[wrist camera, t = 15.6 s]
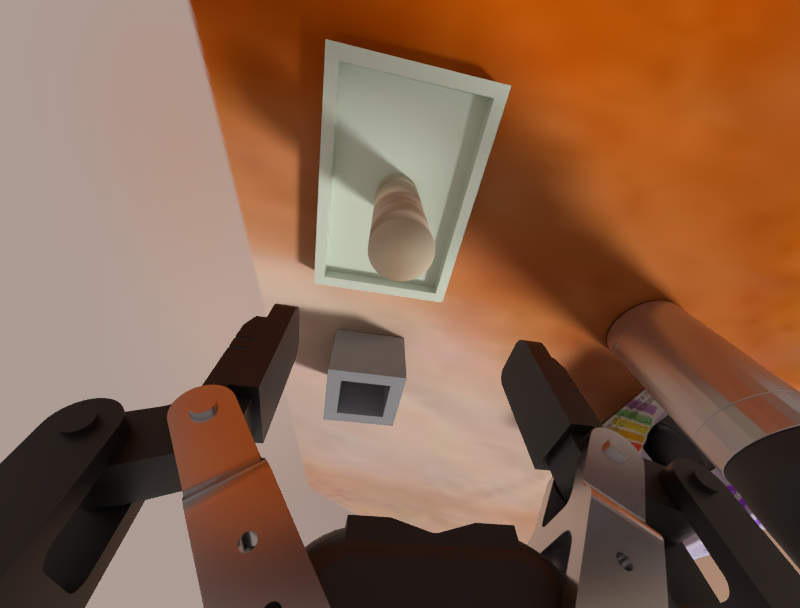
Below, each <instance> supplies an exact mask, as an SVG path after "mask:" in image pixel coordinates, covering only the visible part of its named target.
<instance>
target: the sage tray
mask: <svg viewBox="0 0 800 608" xmlns="http://www.w3.org/2000/svg"><path fill="white" fill-rule="evenodd" d="M510 89H511V86H510V85H506V84H502V83H498V82H494V81H490V80H487V79H483V78H479V77H475V76H471V75H467V74H463V73H459V72H455V71H451V70H447V69H443V68H439V67H435V66H431V65H427V64H423V63H419V62H415V61H411V60H407V59H403V58H399V57H395V56H391V55H387V54H383V53H379V52H375V51H371V50H367V49H364V48H360V47H356V46H352V45H348V44H344V43H340V42H336V41H332V40H328V39H325V60H324V81H323V103H322V124H321V145H320V166H319V187H318V208H317V230H316V251H315V272H314V283H315V284H321V285H328V286H335V287H342V288H348V289H355V290H362V291H368V292H375V293H382V294H388V295H395V296H402V297H408V298H415V299H422V300H428V301H435V302H442V301H443V298H444V295H445V292H446V289H447V286H448V283H449V280H450V276H451V273H452V270H453V267H454V264H455V261H456V258H457V254H458V251H459V248H460V245H461V242H462V239H463V236H464V233H465V229H466V226H467V223H468V220H469V217H470V214H471V211H472V208H473V204H474V201H475V198H476V195H477V192H478V189H479V186H480V183H481V179H482V176H483V173H484V170H485V167H486V164H487V161H488V157H489V154H490V151H491V148H492V145H493V142H494V139H495V136H496V132H497V129H498V126H499V123H500V120H501V117H502V114H503V111H504V107H505V104H506V101H507V98H508V95H509V92H510ZM391 174H402V175H405V176H407V177H409V178H410V179H411V180H412V181H413V182H414V184H415V186H416V188H417V191H418V194H419V197H420V200H421V203H422V206H423V209H424V212H425V215H426V218H427V221H428V224H429V228H430V231H431V234H432V237H433V240H434V244H435V256H434V259H433V262H432V264H431V266H430V267H429V268H428V270H427V271H426V272H425V273H423V274H422V275H421V276H419V277H417V278H415V279H413V280H409V281H393V280H389V279H387V278H385V277H383V276H381V275H380V274H379V273H377V272H376V270H375V269H374V268H373V267H372V265H371V263H370V260H369V257H368V243H369V236H370V229H371V222H372V216H373V209H374V202H375V195H376V189H377V187H378V185H379V183H380V182H381V181H382V179H384V178H385V177H387V176H389V175H391Z"/></svg>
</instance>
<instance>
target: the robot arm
mask: <svg viewBox="0 0 800 608" xmlns="http://www.w3.org/2000/svg"><path fill="white" fill-rule="evenodd" d="M298 343H299V307H295V306H288V305H281V304H275V305H274V306H273V308H272V310H271V311H270V313H269V315H268V316H267V317H259V316H256V317H254V318H253V319H251V320H250V321H248V322H247V323H245V324H244V325H243V326H242V328H241V329H240V331H239V332H238V333H237V335H236V338H234V339H233V341H232V342H231V344H230V347H229V348H228V349H227V350H226V351H225V353H224V354H223V356H222V357H221V359H220V360H219V362H218V363H217V365H216V366H215V368H214V369H213V370H212V372H211V373H210V375H209V376H208V378H207V379H206V381H205V382H204V384H203V385H202V386H200V387H196V388H194V389H191V390H189V391H187V392H185V393H184V394H182V395H181V396H179V397H178V398H177V399H176V400H175V401H174V402H173V403H172V404H171V405H167V406H162V407H155V408H149V409H142V410H135V411H129V412H125V411H124V409H123V407H122V405H121V404H120V403H119V402H117V401H115V400H112V399H106V398H96V399H89V400H84V401H81V402H77V403H74V404H72V405H69V406H67V407H65V408H63V409H61V410H59V411H57V412H55V413H54V414H52V415H51V416H50V417H48V418H47V419H46V420H44V421H43V422H42V423H41V424H40V425H39V426H38V427H37V428H36V429H35V430H34V431H33V432H32V433H31V434H30V435H29V436H28V437H27V438H26V439H25V440H24V441H23V442H22V443H21V444H20V445H19V446H18V447H17V448H16V449H15V450H14V451H13V452H12V453H11V454H10V455H9V456H8V457H7V458H6V459H5V460H4V461H3V462H1V463H0V608H85V606H86V605H87V603H88V601H89V599H90V597H91V596H92V594H93V592H94V590H95V588H96V587H97V585H98V583H99V581H100V580H101V578H102V576H103V574H104V572H105V571H106V569H107V567H108V565H109V563H110V562H111V560H112V558H113V556H114V555H115V553H116V551H117V549H118V548H119V546H120V544H121V542H122V540H123V539H124V537H125V535H126V533H127V532H128V530H129V528H130V526H131V524H132V523H133V521H134V519H135V517H136V515H137V513H138V512H139V510H140V508H141V506H142V505H143V503H144V501H145V500H147V499H151V498H155V497H159V496H163V495H167V494H171V493H175V492H179V491H182V492H183V499H182V501H183V509H184V514H185V519H186V524H187V529H188V533H189V538H190V543H191V548H192V553H193V557H194V562H195V567H196V572H197V577H198V582H199V586H200V591H201V596H202V601H203V606H204V608H800V575H799V573H798V572H797V571H796V570H795V569H794V567H793V566H792V565H791V564H790V563H789V562H788V560H787V559H786V558H785V557H784V555H783V554H782V553H781V552H780V551H779V549H778V548H777V547H776V546H775V545H774V543H773V542H772V541H771V540H770V539H769V537H768V536H767V535H766V534H765V532H764V531H763V530H762V529H761V528H760V526H759V525H758V524H757V523H756V522H755V520H754V519H753V518H752V517H751V516H750V514H749V513H748V512H747V511H746V510H745V508H744V507H743V506H742V505H741V504H740V502H739V501H738V500H737V499H736V498H735V496H734V495H733V494H732V493H731V491H730V490H729V489H728V488H727V487H726V486H725V484H724V483H723V482H722V481H721V480H720V479H719V478H718V477H717V476H715V475H714V474H713V473H712V472H710V471H709V470H708V469H706V468H705V467H703V466H702V465H700V464H698V463H696V462H694V461H692V460H689V459H685V458H677V459H675V460H674V461H673V462H671V463H670V464H669V465H668V466H667V467H666V466H663V465H661V464H658V463H656V462H653V461H650V460H648V459H645V458H643V457H642V456H641V455H640V453H639V452H638V450H637V449H636V448H635V447H634V446H633V445H632V444H631V443H630V442H629V441H628V440H627V439H626V438H624V437H623V436H622V435H620V434H618V433H617V432H615V431H612V430H610V429H607V428H603V426H602V424H601V423H600V421H599V420H598V418H597V417H596V415H595V414H594V412H593V411H592V409H591V408H590V406H589V405H588V403H587V402H586V400H585V399H584V397H583V395H582V394H581V393H580V392H579V389H578V388H577V386H576V385H575V383H573V382H572V381H573V380H572V379H571V377H570V376H569V374H568V373H567V371H566V369H565V368H564V367H563V366H561V365H560V364H559V363H558V362H557V361H556V360H555V359H554V358H551V356H550V354H549V353H548V351H547V350H546V348H545V346H544V345H543V344H542V343H540V342H533V341H526V340H519V341H518V342H517V343H516V345H515V347H514V349H513V351H512V352H511V354H510V356H509V358H508V360H507V362H506V364H505V366H504V368H503V370H502V375H501V381H502V386H503V388H504V391H505V394H506V396H507V399H508V401H509V404H510V406H511V409H512V411H513V414H514V417H515V419H516V422H517V424H518V427H519V429H520V432H521V434H522V437H523V439H524V442H525V445H526V447H527V450H528V452H529V455H530V457H531V460H532V462H533V465H534V468H535V469H540V470H550V471H551V473H552V478H551V479H550V480H549V481H548V484H547V488H546V491H545V495H544V498H543V502H542V505H541V509H540V512H539V516H538V520H537V523H536V527H535V530H534V533H533V535H532V537H531V539H530V541H529V542H528V544H527V545H526V544H524V543H522V542H520V541H518V537H517V534H516V530H515V527H514V525H498V524H483V523H474V524H470V525H466V526H463V527H459V528H455V529H452V530H448V531H444V532H441V533H431V532H428V531H426V530H423V529H420V528H418V527H415V526H412V525H410V524H407V523H404V522H402V521H399V520H396V519H394V518H391V517H375V516H360V515H348V517H347V521H346V526H345V528H342V529H339V530H335V531H332V532H330V533H328V534H325V535H323V536H321V537H319V538H318V539H316V540H314V541H313V542H311V543H310V544H309V545H307V546H306V547H304V545H303V542H302V540H301V538H300V535H299V533H298V531H297V528H296V526H295V523H294V521H293V519H292V516H291V514H290V512H289V510H288V507H287V505H286V502H285V500H284V498H283V495H282V493H281V491H280V488H279V486H278V484H277V482H276V479H275V477H274V474H273V472H272V470H271V468H270V466H269V464H268V462H267V460H266V459H265V458H263V459H262V458H261V456H260V454H259V452H258V449H257V447H256V444H255V443H263V442H264V440H265V437H266V434H267V432H268V429H269V426H270V424H271V421H272V419H273V416H274V413H275V411H276V408H277V405H278V403H279V400H280V398H281V395H282V392H283V390H284V387H285V385H286V382H287V379H288V377H289V374H290V371H291V369H292V366H293V364H294V361H295V358H296V355H297V350H298ZM607 345H608V347H609V349H610V350H611V351H612V352H613V353H614V354H615V356H616V357H617V358H618V359H619V360H620V361H621V362H622V363H623V364H624V366H625V367H626V368H627V369H628V370H629V371H630V373H631V374H632V375H633V376H634V377H635V378H636V379H637V380H638V381H639V383H640V384H641V385H642V386H643V387H644V388H645V389H646V390H647V391H648V393H649V394H650V395H651V396H652V397H653V398H654V399H655V400H656V402H657V403H658V404H659V405H660V406H661V407H662V408H663V409H664V410H665V412H666V413H667V414H668V415H669V416H670V417H671V418H672V419H673V420H674V422H675V423H676V424H677V425H678V426H679V427H680V428H681V429H682V430H683V432H684V433H685V434H686V435H687V436H688V437H689V438H690V439H691V441H692V442H693V443H694V444H695V445H696V446H697V447H698V448H699V449H700V450H701V451H702V453H703V454H704V455H705V456H706V457H707V458H708V459H709V460H710V461H711V463H712V464H713V465H714V466H715V467H716V468H717V469H718V470H719V472H720V473H721V474H722V475H723V476H724V477H725V478H726V479H727V480H728V482H729V483H730V484H731V485H732V486H733V487H734V488H735V489H736V491H737V492H738V493H739V494H740V495H741V497H742V498H743V500H744V501H745V503H746V504H747V506H748V507H749V509H750V510H751V512H752V513H753V514H754V516H755V517H756V518H757V519H758V521H759V522H760V523H761V524H762V525H763V527H764V528H765V529H766V530H767V531H768V532H769V534H770V535H771V536H772V537H773V538H774V539H775V540H776V542H777V543H778V544H779V545H780V546H781V547H782V549H783V550H784V551H785V552H786V553H787V555H788V556H789V557H790V558H791V559H792V561H793V562H794V563H795V564H796V565H797V566H798V568H799V569H800V392H799V391H798V390H796V389H795V388H794V387H792V386H791V385H789V384H788V383H787V382H785V381H784V380H782V379H781V378H779V377H778V376H777V375H775V374H774V373H772V372H771V371H769V370H768V369H767V368H765V367H764V366H762V365H761V364H760V363H758V362H757V361H755V360H754V359H752V358H751V357H750V356H748V355H747V354H745V353H744V352H742V351H741V350H740V349H738V348H737V347H735V346H734V345H733V344H731V343H730V342H728V341H727V340H725V339H724V338H723V337H721V336H720V335H718V334H717V333H715V332H714V331H713V330H711V329H710V328H708V327H707V326H706V325H704V324H703V323H702V322H700V321H699V320H697V319H696V318H694V317H693V316H692V315H690V314H689V313H687V312H686V311H684V310H683V309H682V308H680V307H679V306H677V305H676V304H674V303H672V302H669V301H652V302H647V303H644V304H641V305H638V306H636V307H634V308H632V309H630V310H629V311H627V312H626V313H624V314H623V315H622V316H621V317H620V318H618V319H617V320H616V322H615V323H614V324H613V325H612V327H611V328H610V330H609V332H608V335H607ZM695 533H696V534H697V536H698V537H699V539H700V540H701V542H702V543H703V545H704V546H705V548H706V549H707V551H708V552H709V554H710V555H711V557H712V558H713V560H714V561H715V563H716V564H717V566H718V567H719V569H720V570H721V571H722V573H723V575H724V576H725V578H726V580H727V582H728V585H729V591H730V594H729V598H728V599H727V600H726V601H725V602H722V603H720V602H719V600H718V598H717V597H716V595H715V594H714V592H713V591H712V589H711V587H710V586H709V584H708V582H707V581H706V579H705V578H704V576H703V574H702V573H701V571H700V569H699V568H698V566H697V565H696V563H695V561H694V560H693V558H692V557H691V555H690V553H689V552H688V550H687V549H686V547H685V545H684V544H683V542H682V541H684V540H686V539H687V538H689V537H691V536H692V535H694V534H695Z"/></svg>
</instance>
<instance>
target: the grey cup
mask: <svg viewBox="0 0 800 608" xmlns="http://www.w3.org/2000/svg"><path fill="white" fill-rule="evenodd" d="M405 381H406V365H405V349H404V338H400V337H393V336H385V335H377V334H370V333H362V332H355V331H347V330H339V329H337V332H336V337H335V341H334V346H333V350H332V354H331V359H330V363H329V367H328V375H327V386H326V397H325V408H324V419H326V420H337V421H348V422H358V423H369V424H380V425H390V426H393V422H394V419H395V416H396V412H397V409H398V405H399V402H400V398H401V395H402V391H403V388H404V385H405Z"/></svg>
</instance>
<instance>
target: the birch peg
mask: <svg viewBox="0 0 800 608" xmlns="http://www.w3.org/2000/svg"><path fill="white" fill-rule="evenodd" d="M434 256H435V244H434V240H433V237H432V234H431V231H430V228H429V224H428V221H427V218H426V215H425V212H424V209H423V206H422V203H421V200H420V197H419V194H418V191H417V188H416V186H415V184H414V182H413V181H412V180H411V179H410V178H409V177H407V176H405V175H402V174H391V175H389V176H387V177H385V178H384V179H382V181H381V182H380V183H379V185H378V187H377V189H376V195H375V202H374V209H373V216H372V222H371V229H370V236H369V243H368V257H369V260H370V263H371V265H372V267H373V268H374V269H375V270H376V272H377V273H379V274H380V275H381V276H383V277H385V278H387V279H389V280H393V281H409V280H413V279H415V278H417V277H419V276H421V275H422V274H423V273H425V272H426V271H427V270H428V268H429V267H430V266H431V264H432V262H433V259H434Z"/></svg>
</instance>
